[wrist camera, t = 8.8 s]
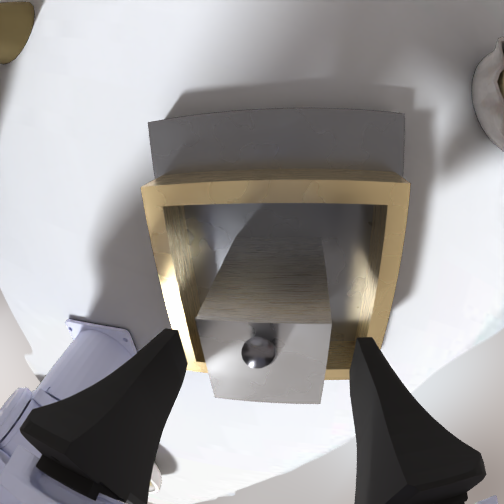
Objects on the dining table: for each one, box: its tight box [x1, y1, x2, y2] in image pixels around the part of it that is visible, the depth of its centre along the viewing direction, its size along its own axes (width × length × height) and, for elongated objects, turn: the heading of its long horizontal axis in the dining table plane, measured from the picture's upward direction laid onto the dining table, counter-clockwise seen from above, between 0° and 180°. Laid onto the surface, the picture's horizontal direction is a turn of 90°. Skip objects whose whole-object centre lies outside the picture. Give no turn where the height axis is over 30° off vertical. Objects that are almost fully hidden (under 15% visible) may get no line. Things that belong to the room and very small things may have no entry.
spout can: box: [195, 237, 332, 404], centre depth 13 cm, size 5×5×8 cm
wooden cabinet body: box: [141, 108, 411, 380], centre depth 17 cm, size 18×13×4 cm
